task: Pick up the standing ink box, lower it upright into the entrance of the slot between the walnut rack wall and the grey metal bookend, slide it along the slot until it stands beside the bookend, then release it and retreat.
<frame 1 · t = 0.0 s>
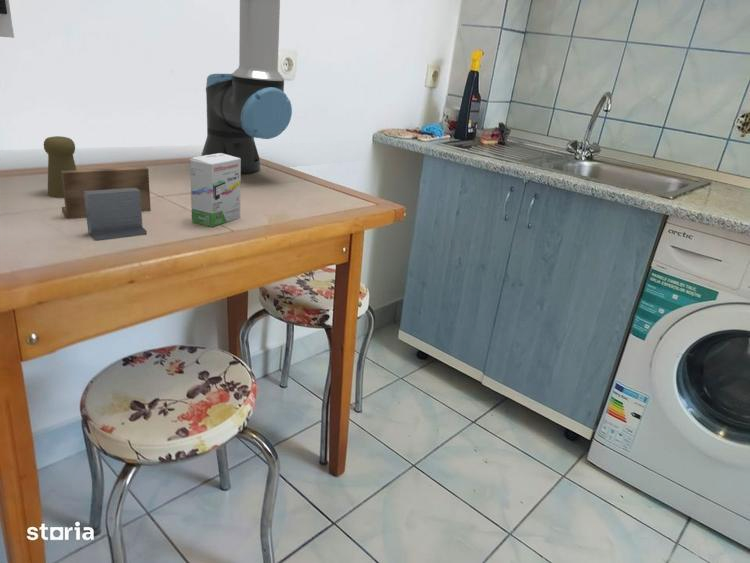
rack: (110, 213, 99), on the table
ink box: (216, 220, 102), on the table
bookend: (116, 231, 90), on the table
cork: (65, 194, 106), on the table
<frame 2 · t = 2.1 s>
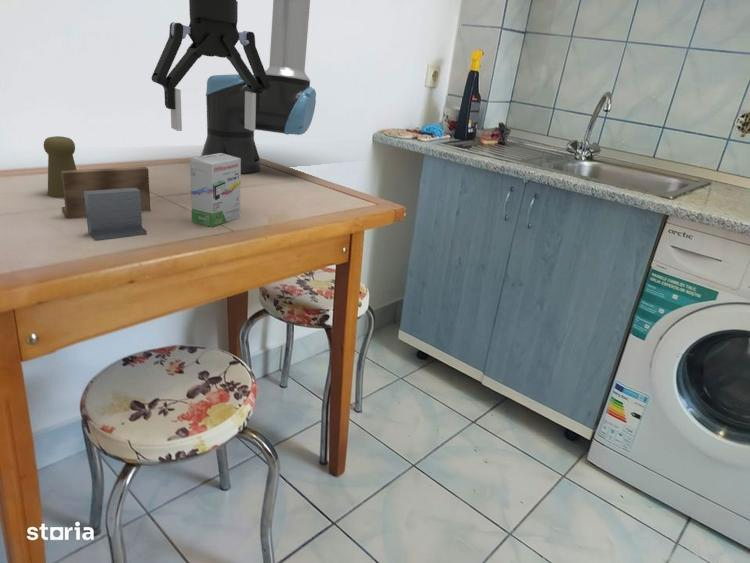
hand: (214, 129, 95), 17 cm above the table, fingers open, 13 cm apart
nothing on the table moved.
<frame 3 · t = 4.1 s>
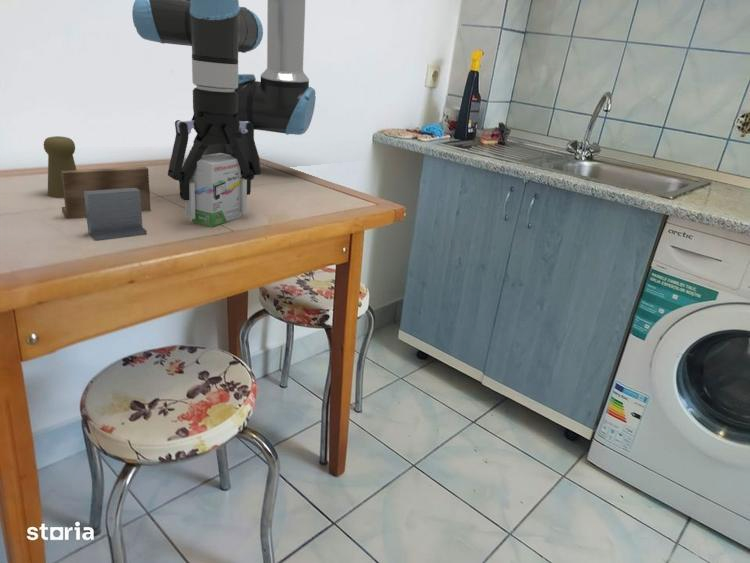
hand: (216, 213, 101), 1 cm above the table, fingers closed on ink box, 9 cm apart
ink box: (216, 220, 102), on the table, touching gripper
everything else where it was.
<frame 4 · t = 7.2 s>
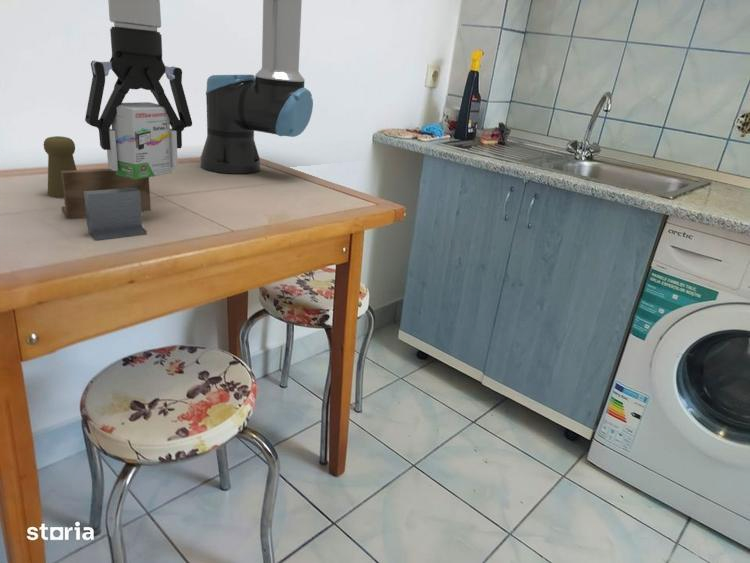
hand: (143, 167, 94), 9 cm above the table, fingers closed on ink box, 9 cm apart
ink box: (144, 175, 95), point 8 cm above the table, touching gripper
everything else where it was.
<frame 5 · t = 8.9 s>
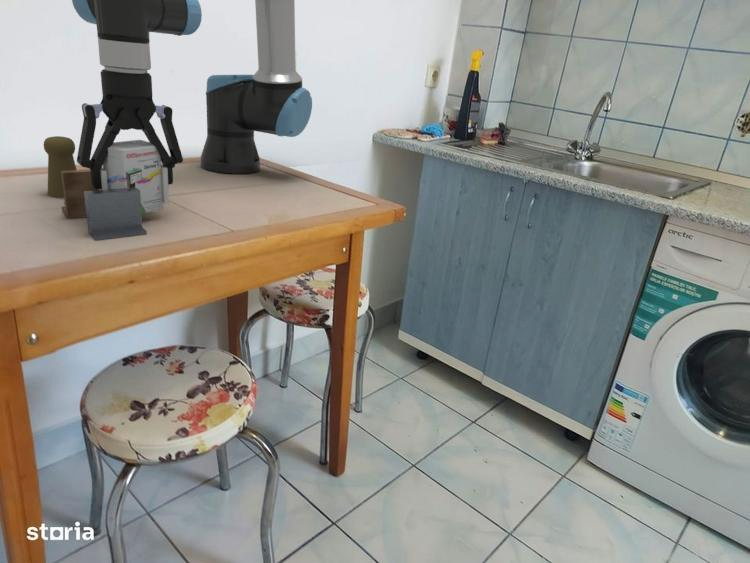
hand: (135, 204, 96), 3 cm above the table, fingers closed on ink box, 9 cm apart
ink box: (136, 211, 96), point 1 cm above the table, touching gripper
everything else where it was.
when the fingers open (3 cm above the table, at t = 10.4 s): ink box drops 2 cm, on the table.
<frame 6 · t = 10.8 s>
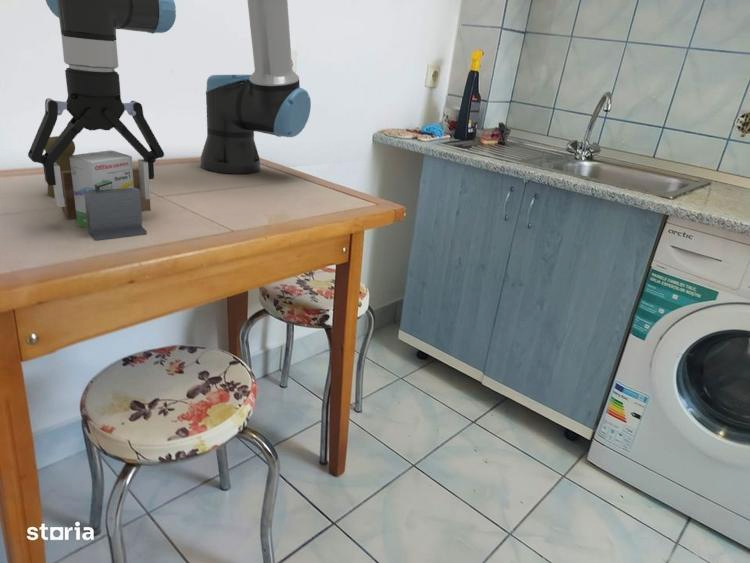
hand: (104, 200, 92), 4 cm above the table, fingers open, 13 cm apart
ink box: (107, 223, 94), on the table
everything else where it was.
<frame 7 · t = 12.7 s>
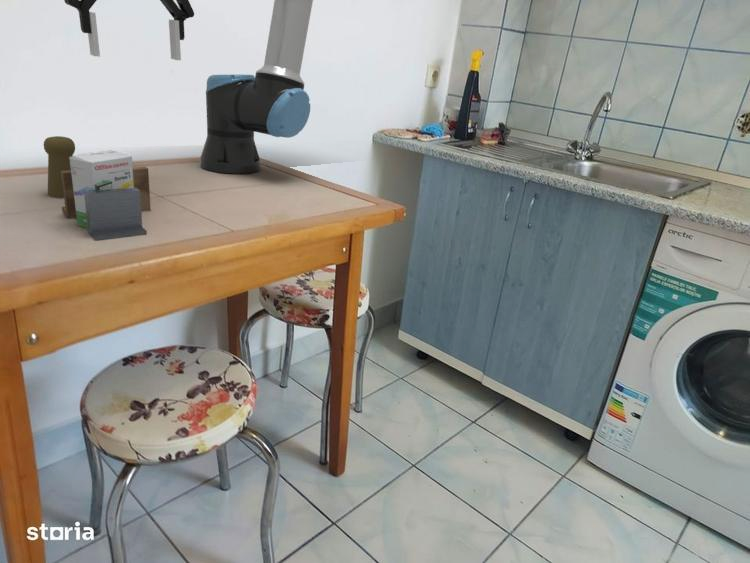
hand: (137, 58, 94), 27 cm above the table, fingers open, 13 cm apart
nothing on the table moved.
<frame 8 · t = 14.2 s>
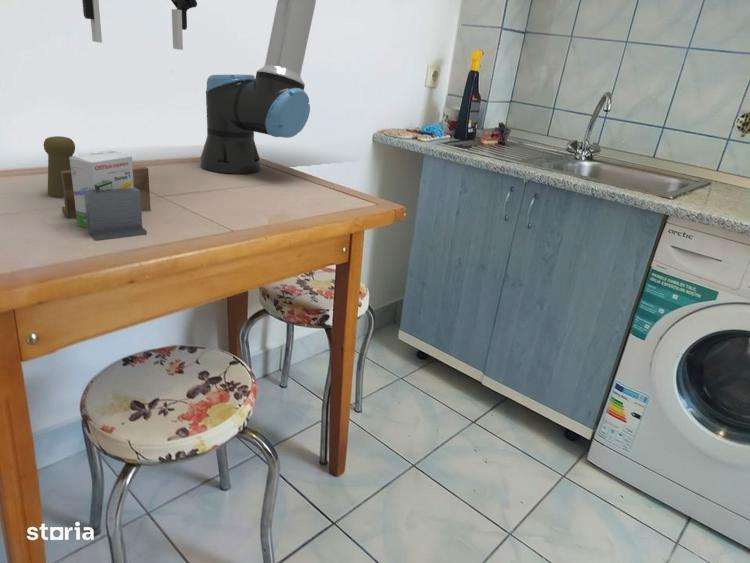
hand: (139, 46, 94), 29 cm above the table, fingers open, 13 cm apart
nothing on the table moved.
at the end: ink box inside the target area (1.2 cm from its centre), on the table; ink box tilted 0°; the gripper is holding nothing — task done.
